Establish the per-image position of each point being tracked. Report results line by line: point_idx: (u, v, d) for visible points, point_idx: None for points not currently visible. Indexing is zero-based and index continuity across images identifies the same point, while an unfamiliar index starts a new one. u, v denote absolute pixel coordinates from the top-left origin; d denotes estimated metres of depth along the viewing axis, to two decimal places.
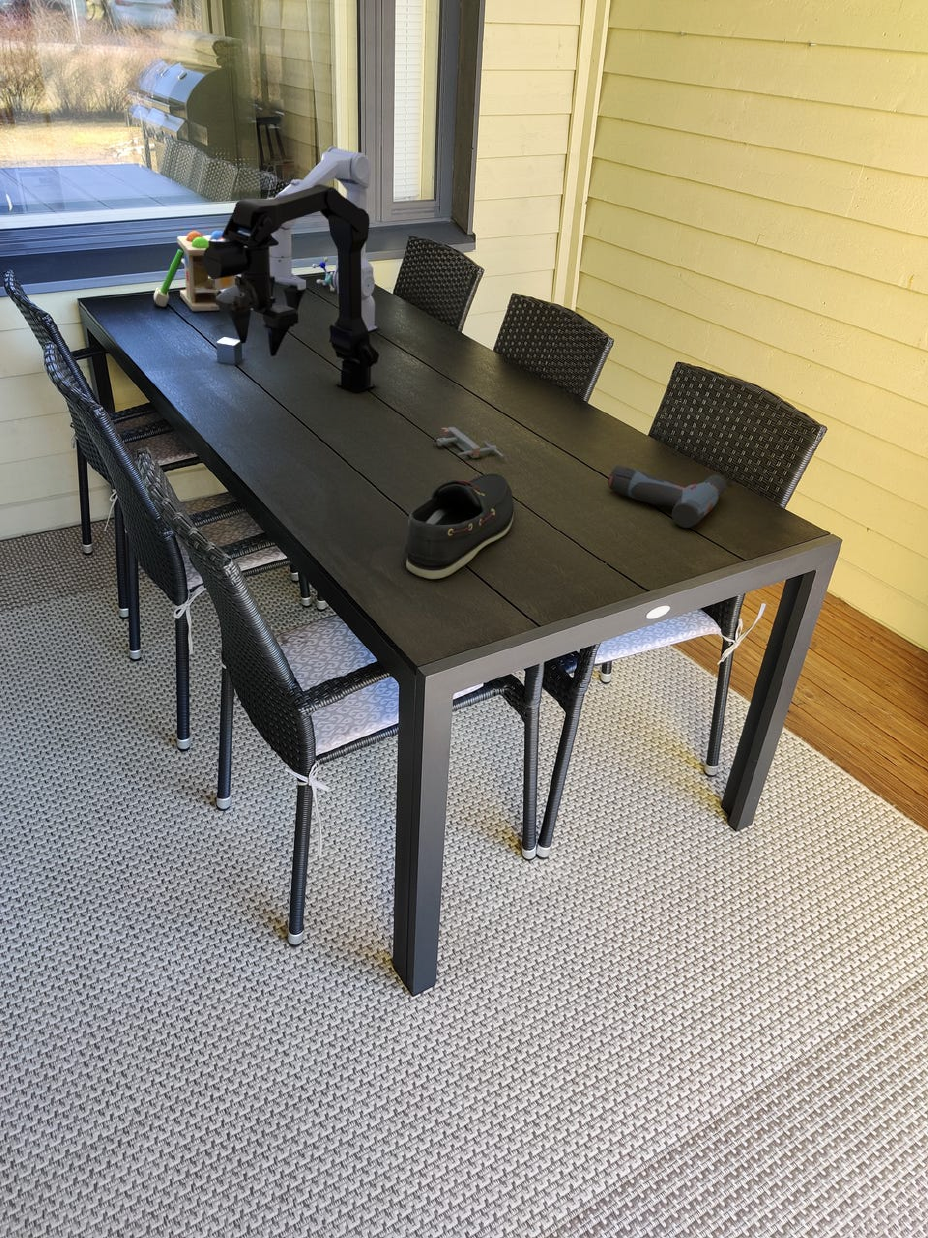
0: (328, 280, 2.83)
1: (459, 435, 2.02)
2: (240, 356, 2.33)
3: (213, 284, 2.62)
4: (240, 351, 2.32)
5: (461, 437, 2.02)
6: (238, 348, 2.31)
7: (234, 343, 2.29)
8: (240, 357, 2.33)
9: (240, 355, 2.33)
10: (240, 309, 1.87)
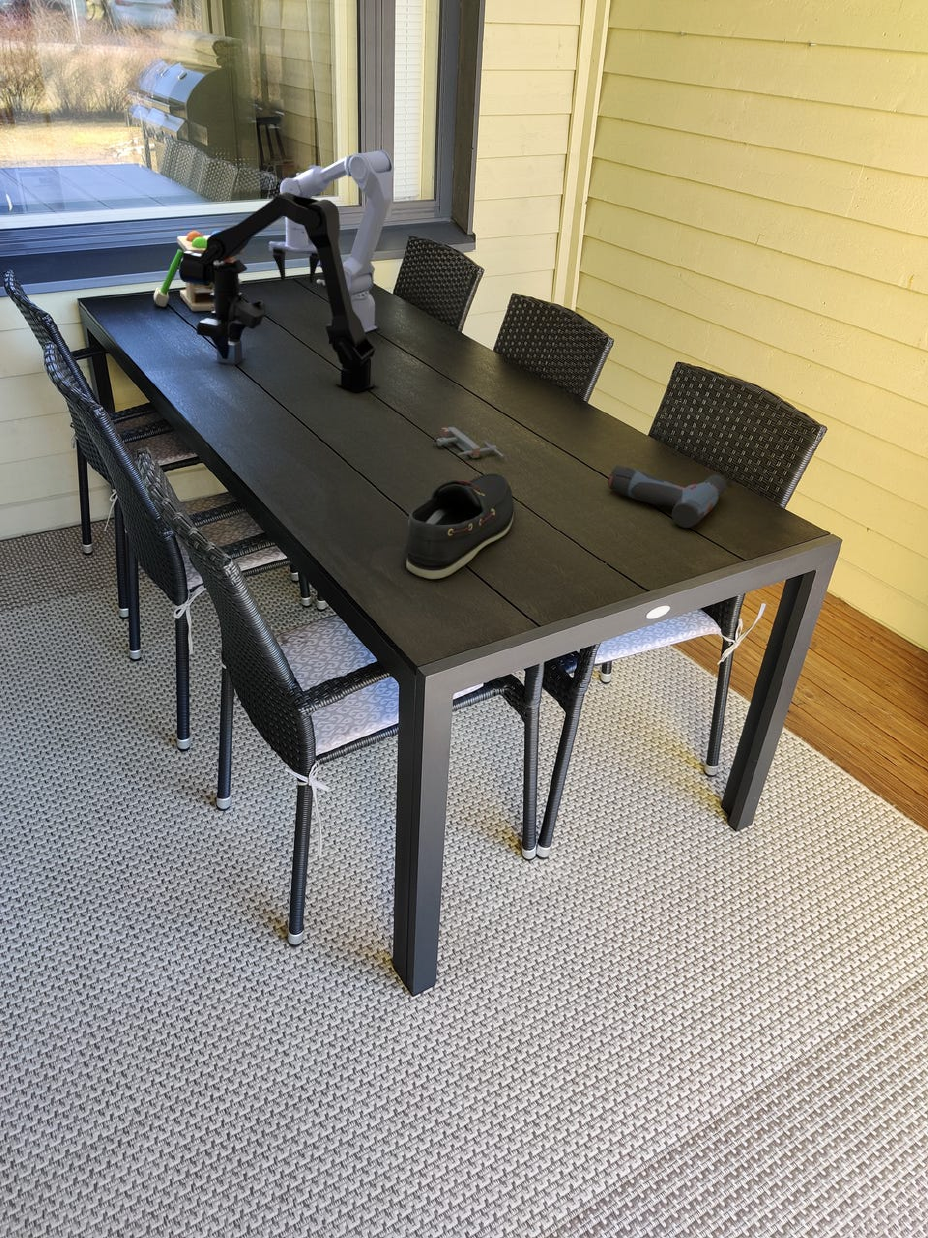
0: None
1: (459, 435, 2.02)
2: (240, 356, 2.33)
3: None
4: (240, 351, 2.32)
5: (461, 437, 2.02)
6: (238, 348, 2.31)
7: (234, 343, 2.29)
8: (240, 357, 2.33)
9: (240, 355, 2.33)
10: None
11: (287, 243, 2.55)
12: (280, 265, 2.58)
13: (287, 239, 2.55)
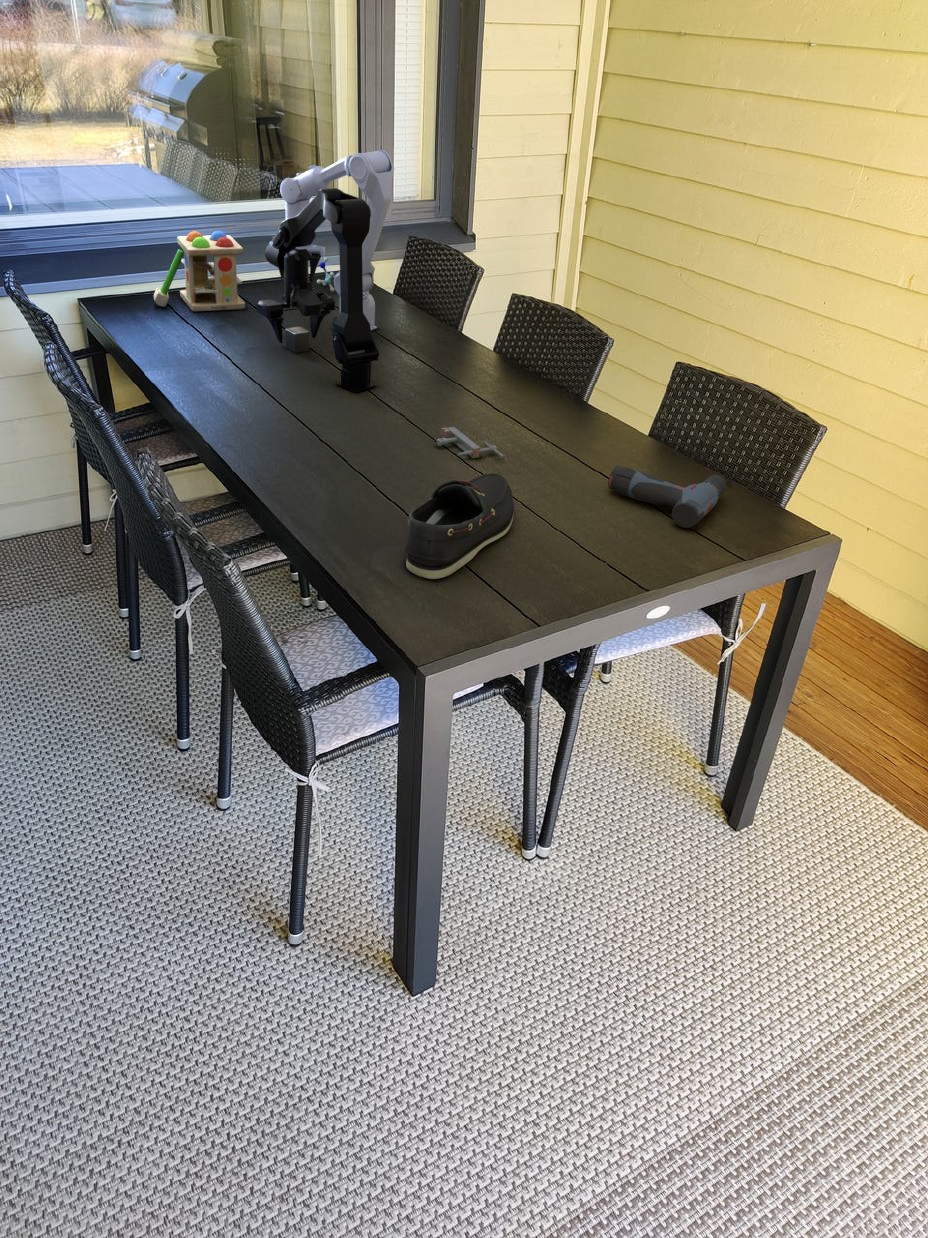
0: (328, 280, 2.83)
1: (459, 435, 2.02)
2: (305, 346, 2.42)
3: (213, 284, 2.62)
4: (306, 342, 2.41)
5: (461, 437, 2.02)
6: (303, 338, 2.40)
7: (298, 332, 2.39)
8: (305, 347, 2.42)
9: (305, 345, 2.42)
10: (326, 304, 2.34)
11: None
12: None
13: None
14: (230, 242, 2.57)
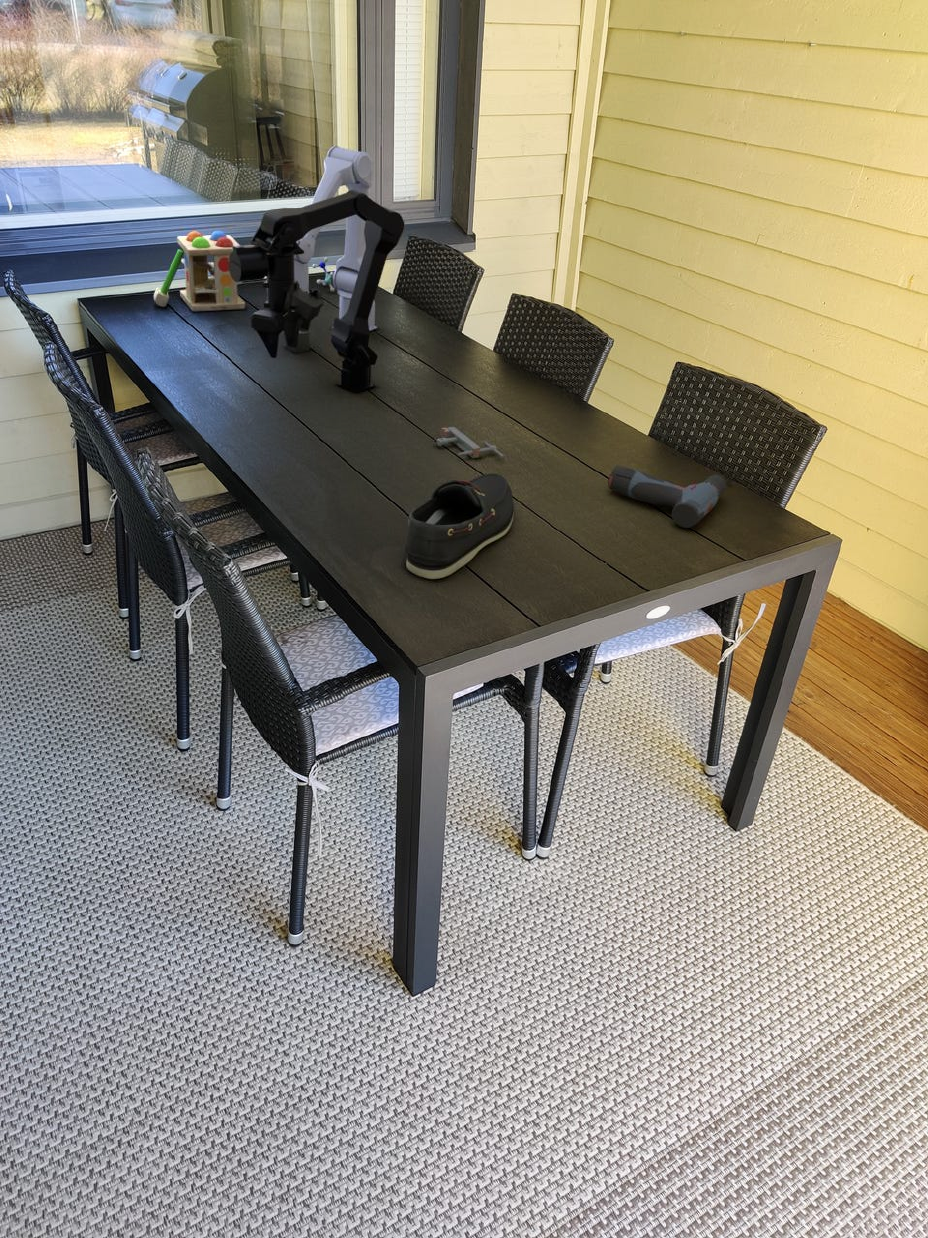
0: (328, 280, 2.83)
1: (459, 435, 2.02)
2: (305, 346, 2.42)
3: (213, 284, 2.62)
4: (306, 342, 2.42)
5: (461, 437, 2.02)
6: (303, 338, 2.41)
7: None
8: (305, 347, 2.42)
9: (306, 345, 2.42)
10: None
11: None
12: (298, 332, 2.37)
13: None
14: (230, 242, 2.57)
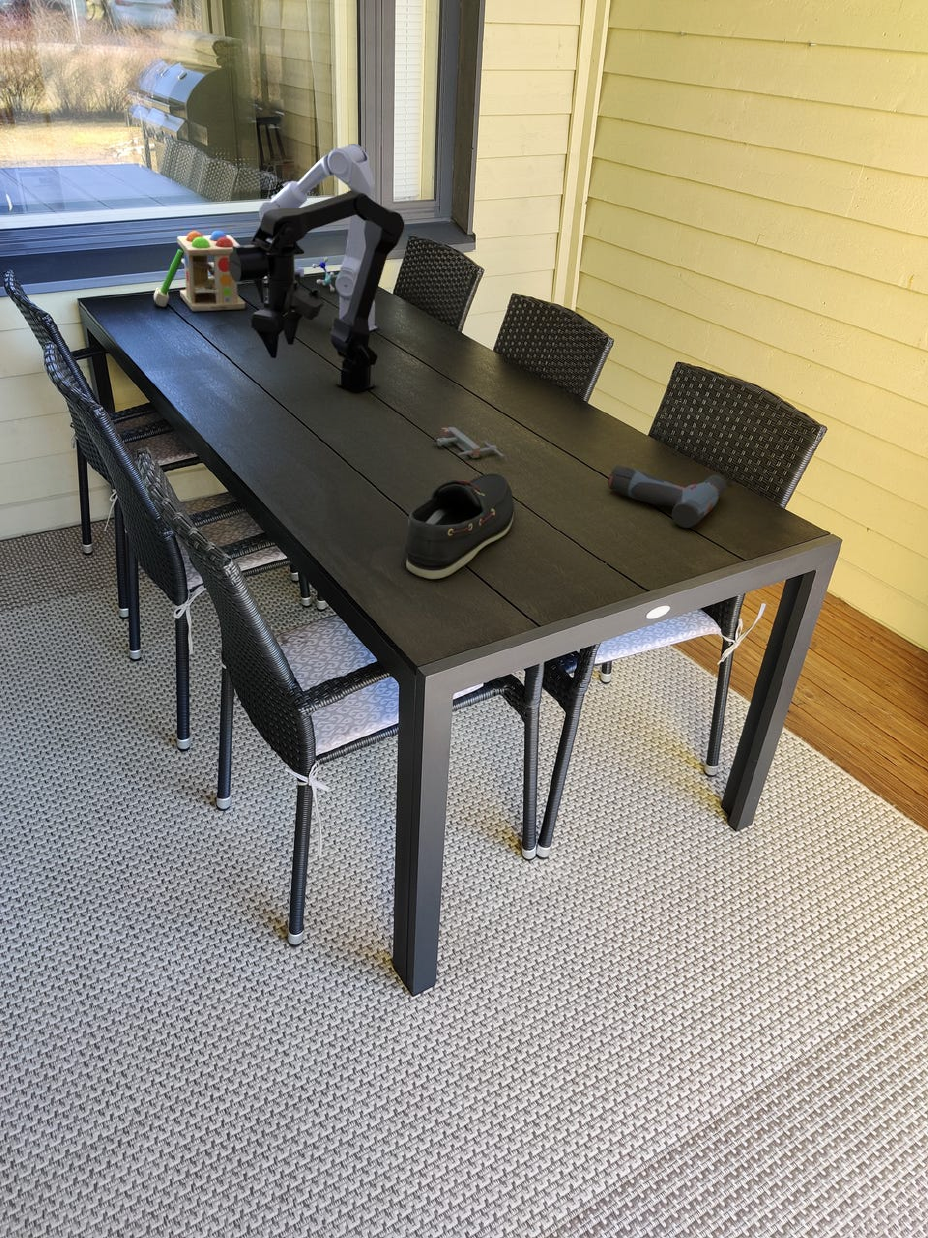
0: (328, 280, 2.83)
1: (459, 435, 2.02)
2: None
3: (213, 284, 2.62)
4: None
5: (461, 437, 2.02)
6: None
7: None
8: None
9: None
10: None
11: None
12: (260, 288, 2.58)
13: None
14: (230, 242, 2.57)
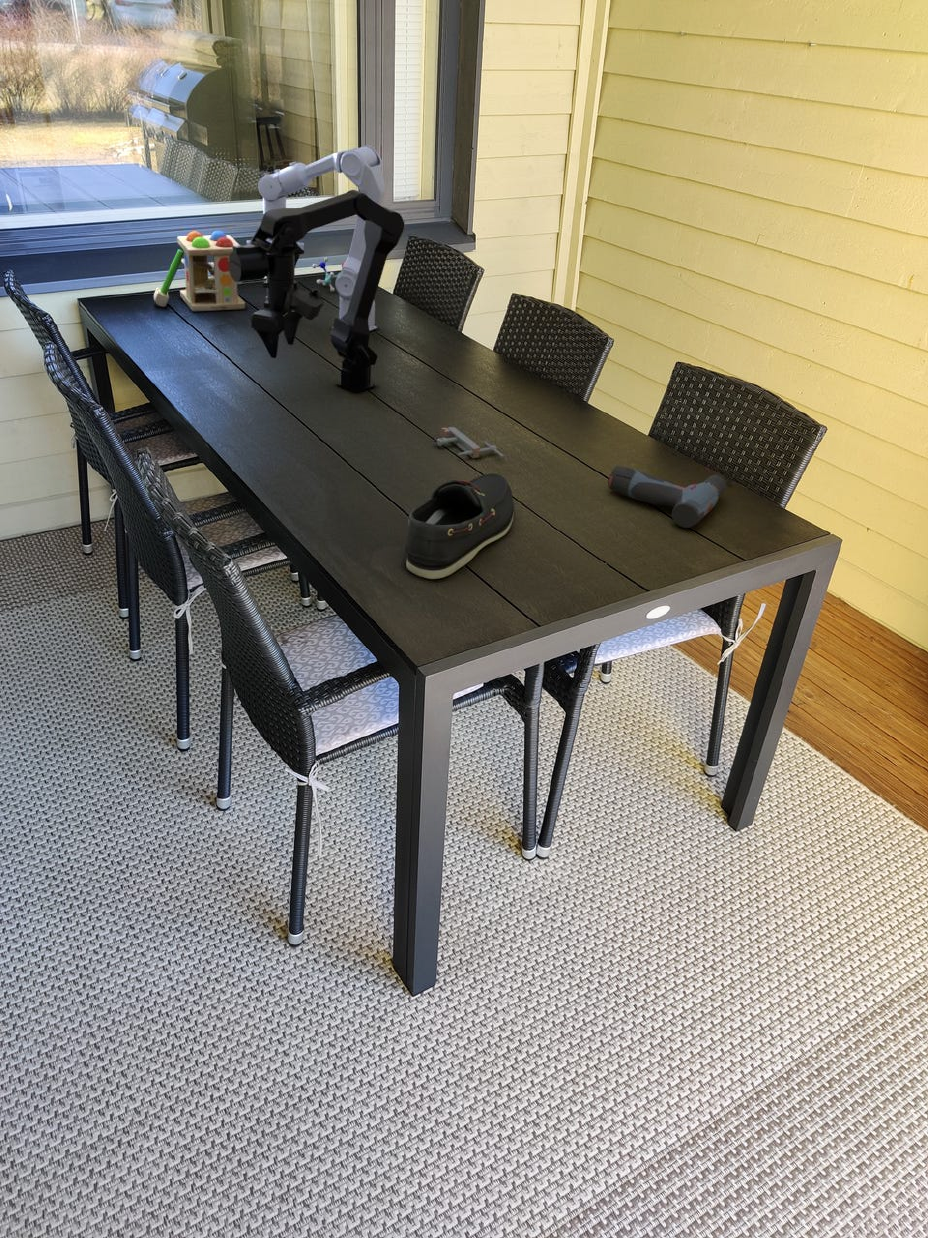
0: (328, 280, 2.83)
1: (459, 435, 2.02)
2: None
3: (213, 284, 2.62)
4: None
5: (461, 437, 2.02)
6: None
7: None
8: None
9: None
10: None
11: None
12: None
13: None
14: (230, 242, 2.57)
